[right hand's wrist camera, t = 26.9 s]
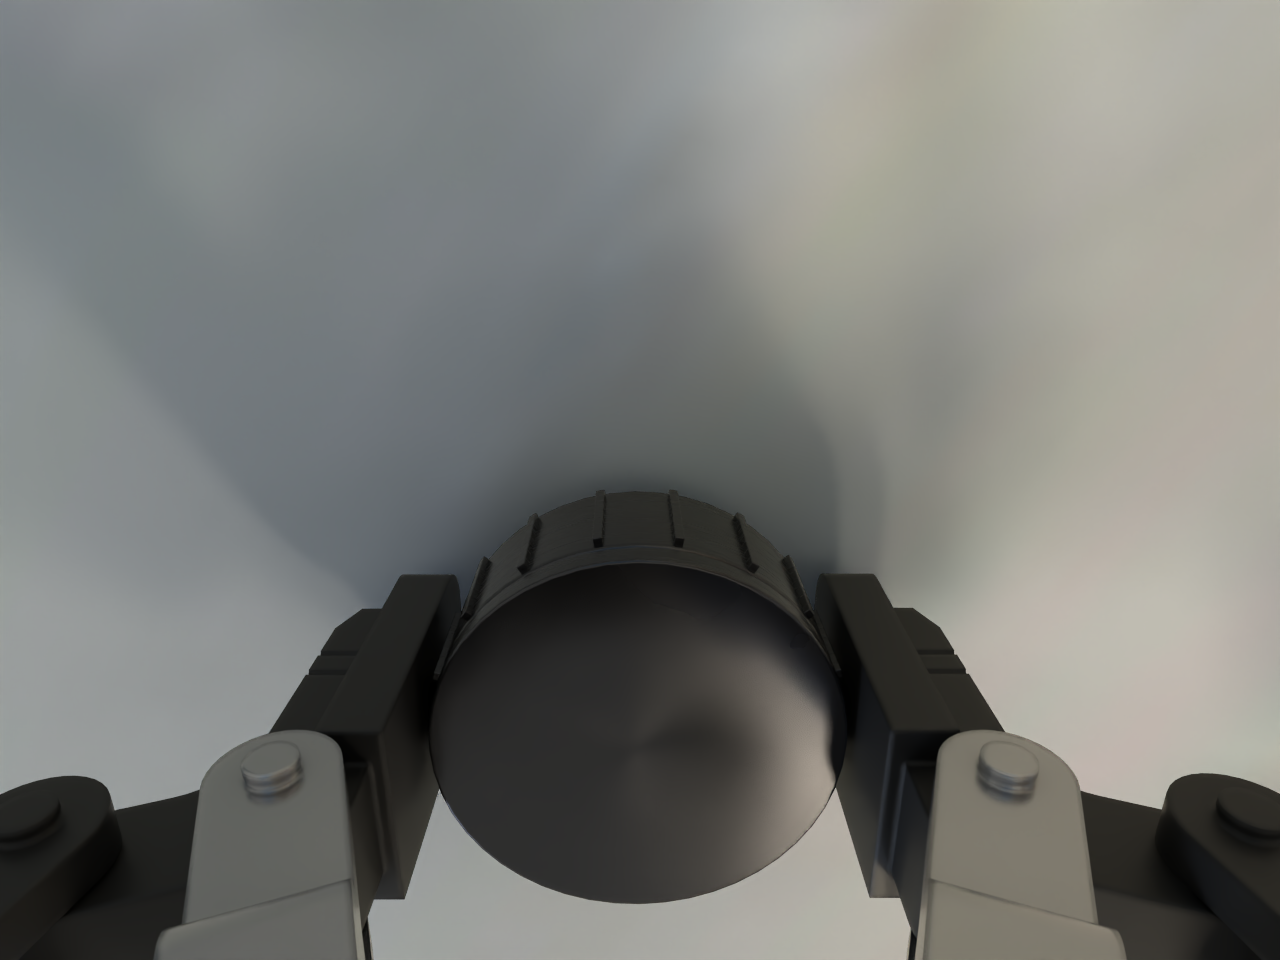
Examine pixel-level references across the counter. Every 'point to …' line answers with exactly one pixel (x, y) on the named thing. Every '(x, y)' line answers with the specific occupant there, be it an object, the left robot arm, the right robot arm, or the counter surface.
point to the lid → (637, 701)
